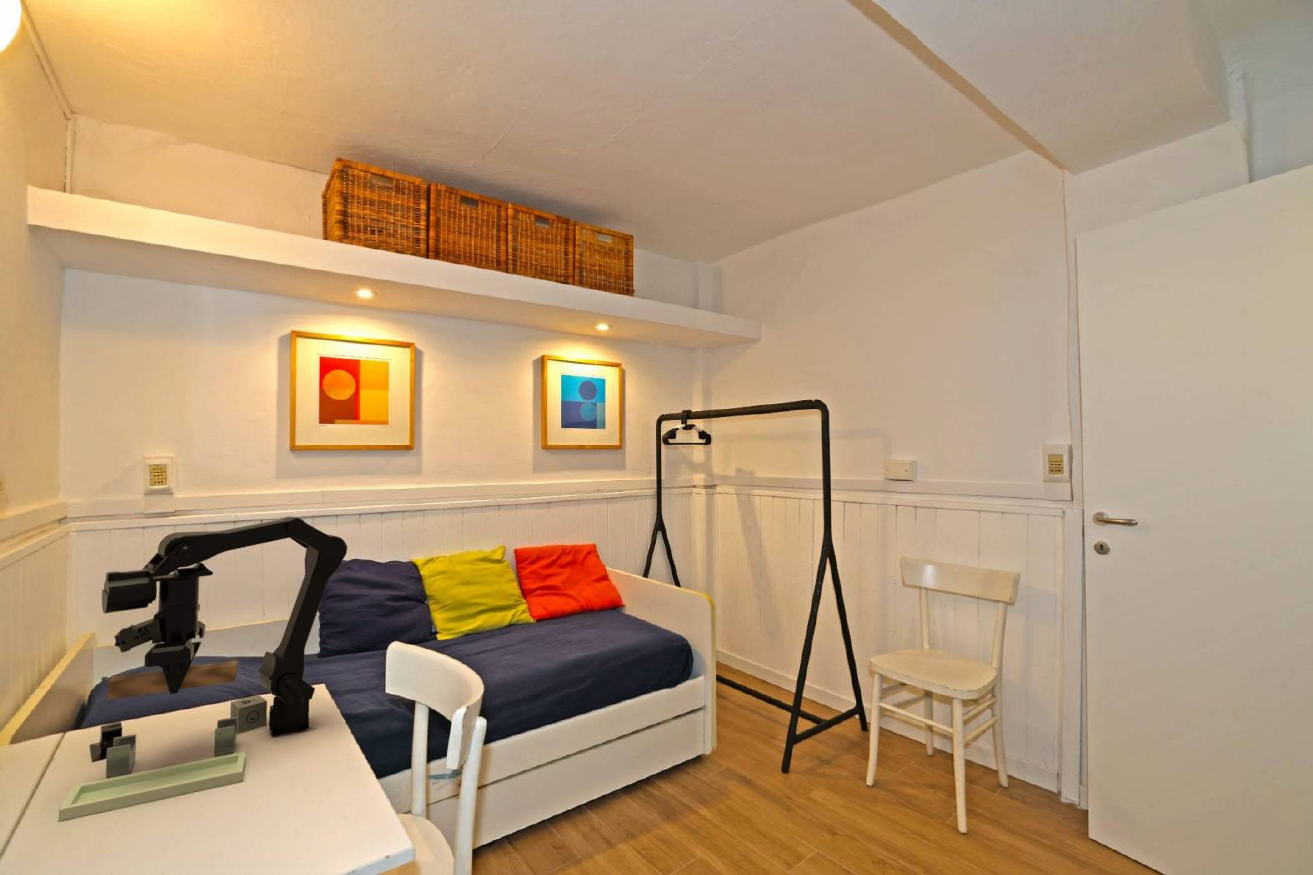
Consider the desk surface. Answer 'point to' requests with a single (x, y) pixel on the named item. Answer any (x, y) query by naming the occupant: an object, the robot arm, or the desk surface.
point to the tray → (152, 785)
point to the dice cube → (249, 713)
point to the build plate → (105, 741)
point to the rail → (158, 683)
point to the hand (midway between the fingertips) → (175, 690)
